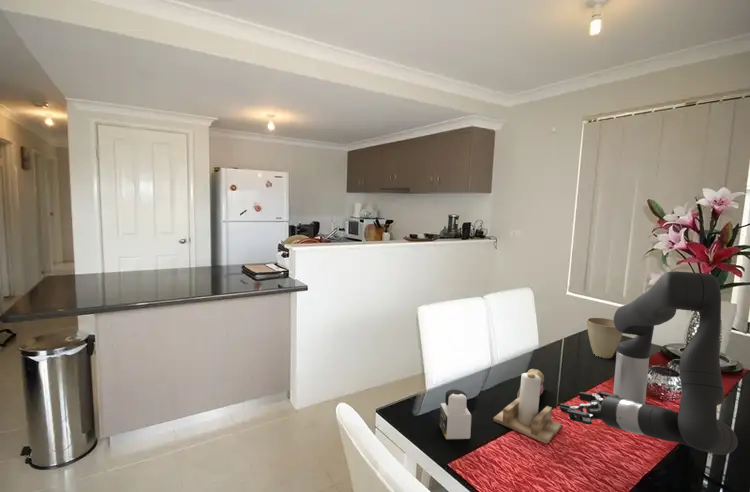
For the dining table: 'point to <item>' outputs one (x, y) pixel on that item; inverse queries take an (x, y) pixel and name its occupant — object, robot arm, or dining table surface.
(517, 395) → the scroll
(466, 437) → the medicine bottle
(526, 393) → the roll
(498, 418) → the stand
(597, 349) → the plant pot
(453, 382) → the dining table surface
